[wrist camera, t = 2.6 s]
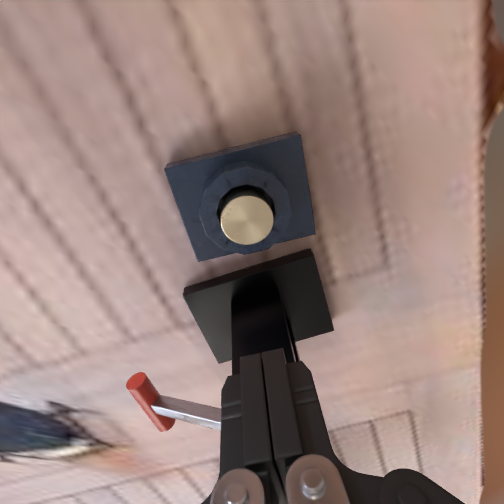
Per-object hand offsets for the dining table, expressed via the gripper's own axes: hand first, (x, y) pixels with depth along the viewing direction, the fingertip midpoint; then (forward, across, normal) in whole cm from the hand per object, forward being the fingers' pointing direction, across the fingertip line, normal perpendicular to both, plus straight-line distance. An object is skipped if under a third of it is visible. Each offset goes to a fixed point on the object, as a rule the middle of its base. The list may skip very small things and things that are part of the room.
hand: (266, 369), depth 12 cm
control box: (+18, 0, 0) cm, 18 cm away
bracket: (+18, +1, +11) cm, 21 cm away
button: (+14, 0, 0) cm, 14 cm away
